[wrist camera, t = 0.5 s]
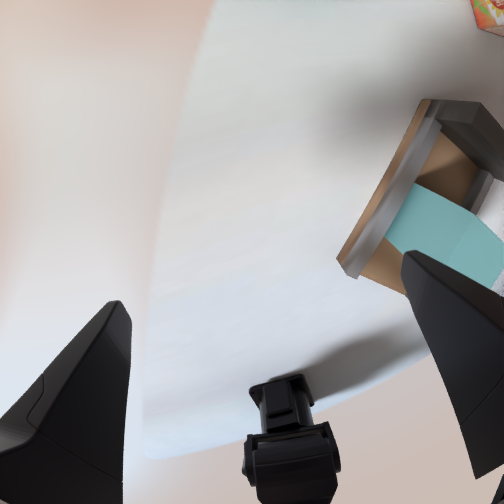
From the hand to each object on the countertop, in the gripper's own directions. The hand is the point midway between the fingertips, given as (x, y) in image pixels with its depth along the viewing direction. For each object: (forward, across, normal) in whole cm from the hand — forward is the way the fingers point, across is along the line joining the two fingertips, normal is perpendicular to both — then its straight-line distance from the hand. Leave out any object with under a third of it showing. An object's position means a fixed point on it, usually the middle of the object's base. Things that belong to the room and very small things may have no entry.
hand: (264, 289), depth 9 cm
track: (+14, -15, +6) cm, 22 cm away
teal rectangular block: (+12, -14, +7) cm, 20 cm away
